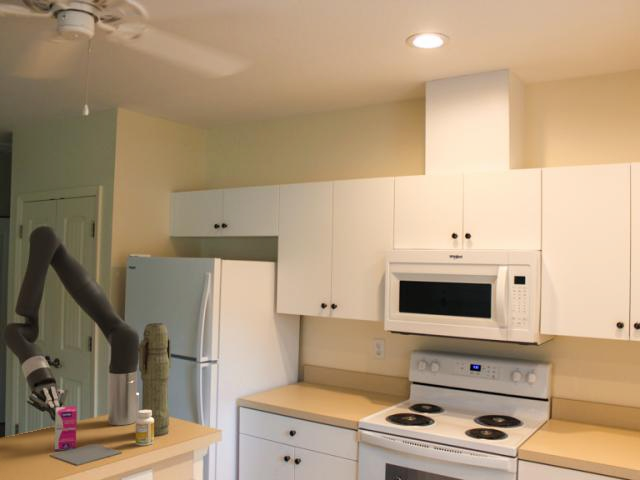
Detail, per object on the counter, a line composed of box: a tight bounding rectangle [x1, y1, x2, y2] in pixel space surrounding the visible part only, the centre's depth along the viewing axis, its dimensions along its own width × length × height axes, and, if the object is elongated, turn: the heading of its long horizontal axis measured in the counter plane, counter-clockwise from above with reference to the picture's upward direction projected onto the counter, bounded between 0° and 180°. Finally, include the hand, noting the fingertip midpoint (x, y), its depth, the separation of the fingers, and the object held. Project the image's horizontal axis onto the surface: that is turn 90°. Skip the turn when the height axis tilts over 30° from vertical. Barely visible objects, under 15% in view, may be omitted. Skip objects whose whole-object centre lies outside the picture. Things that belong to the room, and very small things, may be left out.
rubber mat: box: [49, 443, 123, 466], centre depth 177 cm, size 14×14×1 cm
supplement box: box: [54, 405, 78, 452], centre depth 184 cm, size 6×6×12 cm
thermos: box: [138, 322, 172, 438], centre depth 200 cm, size 9×12×35 cm
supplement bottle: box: [135, 409, 155, 447], centre depth 189 cm, size 5×5×10 cm
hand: (58, 419), depth 187 cm, fingers closed
